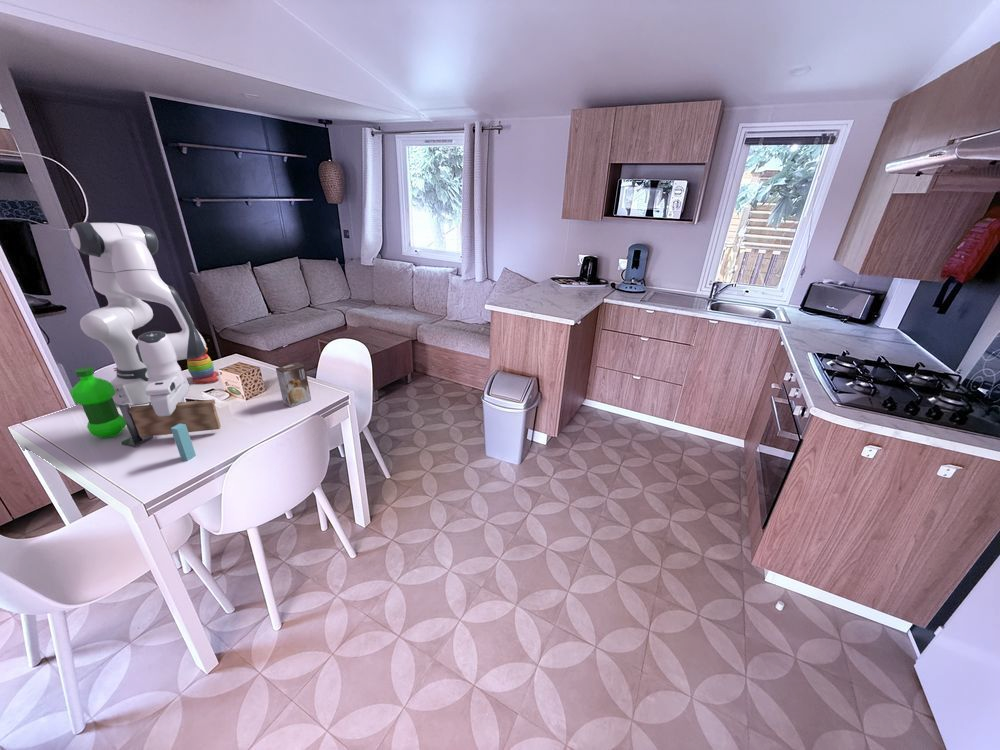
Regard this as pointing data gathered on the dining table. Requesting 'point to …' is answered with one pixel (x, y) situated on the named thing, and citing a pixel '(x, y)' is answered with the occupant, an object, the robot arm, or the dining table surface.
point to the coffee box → (293, 384)
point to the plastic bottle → (97, 404)
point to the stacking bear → (202, 370)
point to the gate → (176, 418)
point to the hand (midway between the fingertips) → (179, 414)
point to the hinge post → (132, 429)
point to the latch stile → (183, 441)
